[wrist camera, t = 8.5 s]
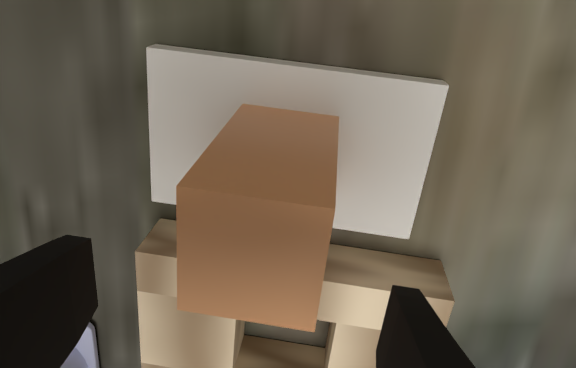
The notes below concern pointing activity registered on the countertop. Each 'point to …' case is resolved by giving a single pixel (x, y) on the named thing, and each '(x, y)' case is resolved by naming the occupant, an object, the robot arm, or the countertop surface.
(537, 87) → the countertop surface
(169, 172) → the mat
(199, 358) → the beige holed block
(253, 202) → the plug
